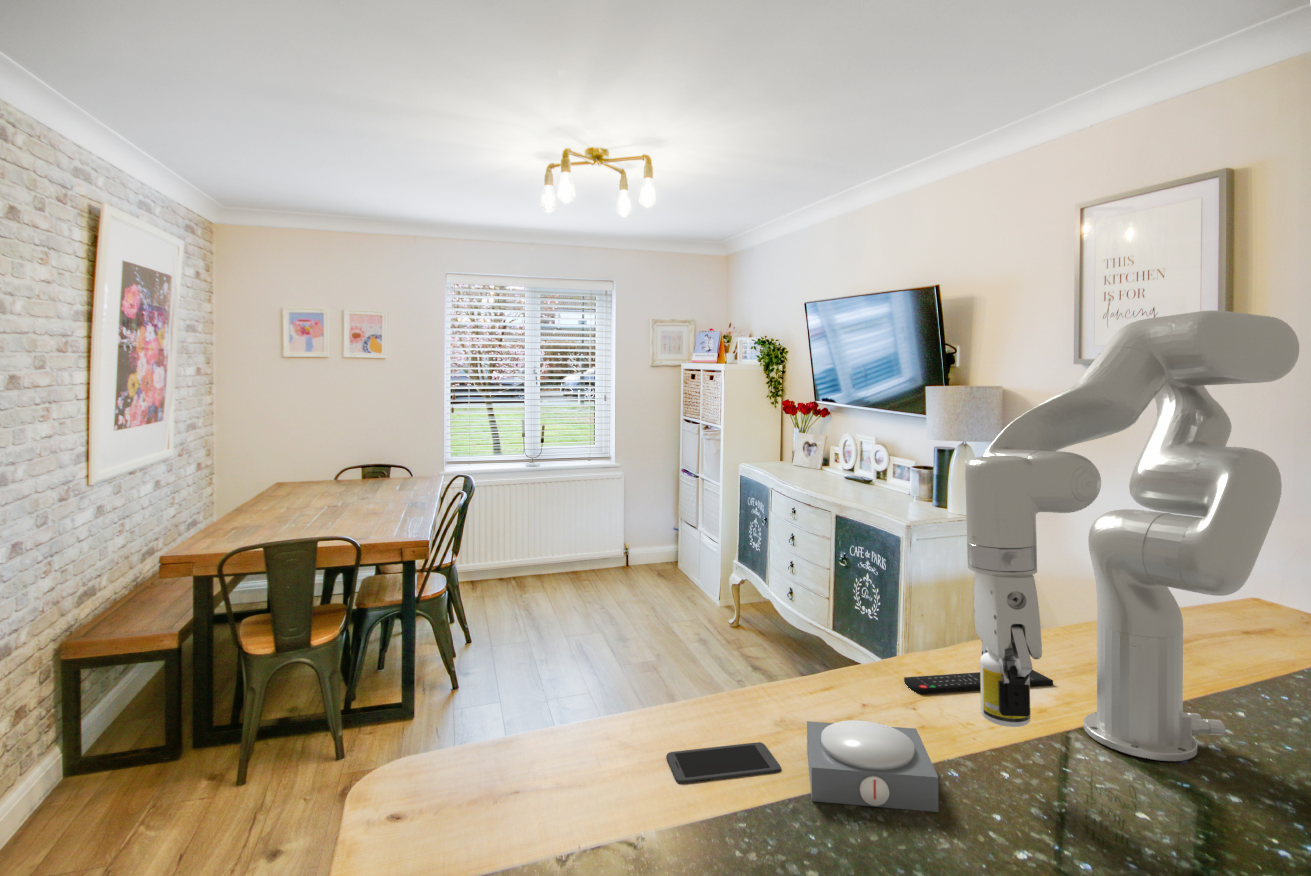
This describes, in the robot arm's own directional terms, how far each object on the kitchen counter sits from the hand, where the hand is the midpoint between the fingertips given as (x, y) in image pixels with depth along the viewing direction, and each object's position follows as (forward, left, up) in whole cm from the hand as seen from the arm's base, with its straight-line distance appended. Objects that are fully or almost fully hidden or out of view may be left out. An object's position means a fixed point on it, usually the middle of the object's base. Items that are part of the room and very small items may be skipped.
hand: (1005, 701), depth 81 cm
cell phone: (+35, +1, -10) cm, 36 cm away
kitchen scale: (+17, +2, -10) cm, 19 cm away
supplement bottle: (0, 0, -2) cm, 2 cm away
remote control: (-5, -31, -10) cm, 33 cm away
